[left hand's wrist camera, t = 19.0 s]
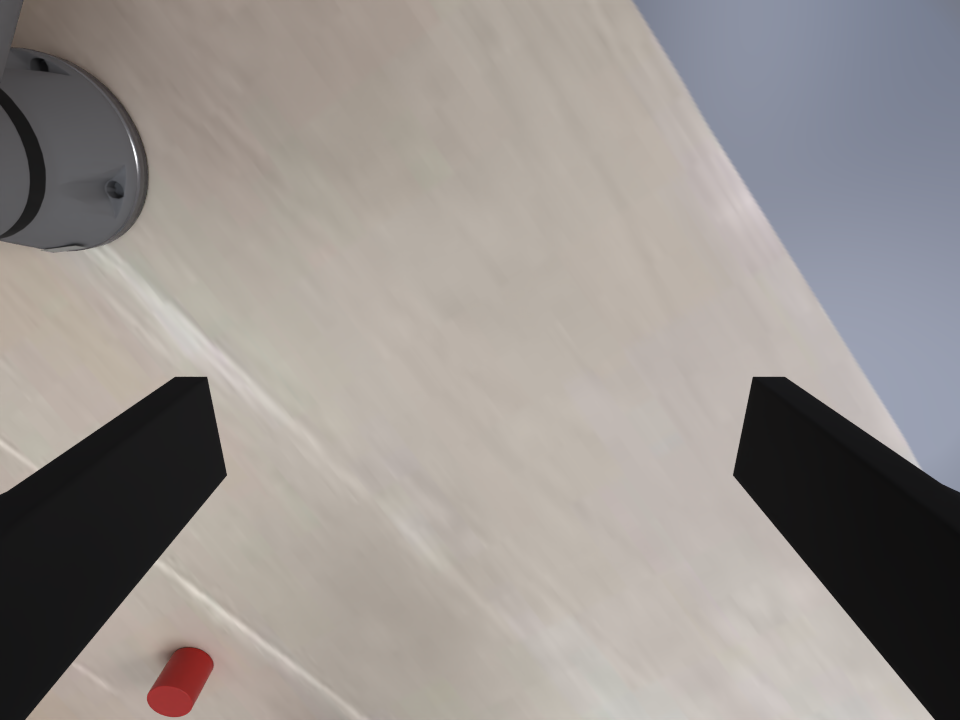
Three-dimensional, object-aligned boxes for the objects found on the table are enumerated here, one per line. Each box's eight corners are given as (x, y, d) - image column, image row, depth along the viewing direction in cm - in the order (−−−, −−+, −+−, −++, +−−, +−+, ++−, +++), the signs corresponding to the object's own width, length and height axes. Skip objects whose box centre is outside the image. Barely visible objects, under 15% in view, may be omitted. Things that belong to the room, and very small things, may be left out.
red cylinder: (197, 683, 64) (175, 723, 60) (163, 661, 63) (137, 701, 58) (222, 663, 63) (201, 702, 59) (187, 640, 62) (163, 679, 57)
